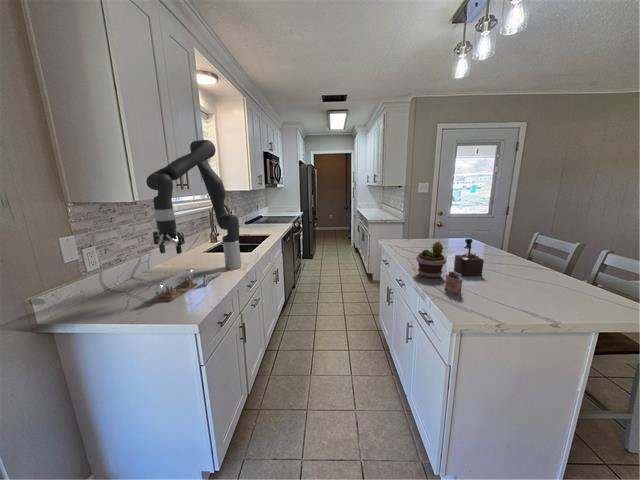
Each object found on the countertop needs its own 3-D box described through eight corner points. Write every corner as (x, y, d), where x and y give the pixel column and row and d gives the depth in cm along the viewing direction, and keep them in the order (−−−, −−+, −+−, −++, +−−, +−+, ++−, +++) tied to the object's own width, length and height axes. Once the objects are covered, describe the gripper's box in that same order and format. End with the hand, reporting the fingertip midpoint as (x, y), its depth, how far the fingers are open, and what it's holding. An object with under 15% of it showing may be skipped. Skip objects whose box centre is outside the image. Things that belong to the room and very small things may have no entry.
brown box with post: (483, 276, 135) (487, 243, 131) (462, 276, 135) (466, 244, 131) (467, 267, 150) (470, 237, 146) (448, 267, 150) (451, 237, 146)
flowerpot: (422, 281, 130) (425, 243, 126) (411, 271, 145) (413, 237, 141) (450, 280, 131) (453, 242, 126) (436, 270, 146) (438, 236, 141)
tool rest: (183, 284, 132) (181, 273, 131) (197, 285, 131) (195, 274, 130) (154, 300, 114) (152, 288, 113) (169, 301, 113) (167, 289, 112)
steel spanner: (189, 276, 133) (188, 268, 132) (194, 276, 133) (193, 269, 132) (154, 294, 111) (152, 286, 110) (160, 295, 110) (159, 286, 109)
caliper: (205, 287, 129) (204, 275, 127) (203, 287, 129) (202, 275, 128) (222, 273, 149) (221, 263, 147) (220, 273, 149) (219, 263, 147)
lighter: (442, 289, 119) (444, 269, 117) (447, 288, 121) (449, 268, 119) (457, 296, 112) (459, 275, 110) (462, 295, 114) (465, 274, 111)
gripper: (185, 217, 117) (190, 251, 121) (158, 217, 119) (163, 250, 123) (173, 220, 110) (178, 256, 113) (145, 220, 112) (151, 255, 116)
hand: (171, 253), depth 118 cm, fingers open, 8 cm apart
